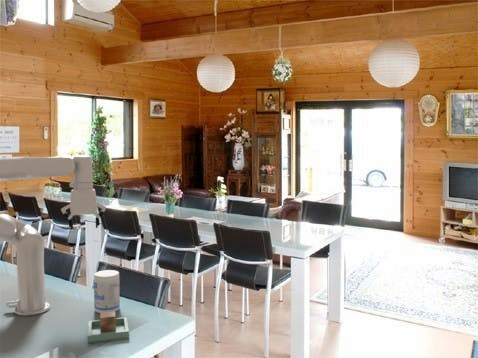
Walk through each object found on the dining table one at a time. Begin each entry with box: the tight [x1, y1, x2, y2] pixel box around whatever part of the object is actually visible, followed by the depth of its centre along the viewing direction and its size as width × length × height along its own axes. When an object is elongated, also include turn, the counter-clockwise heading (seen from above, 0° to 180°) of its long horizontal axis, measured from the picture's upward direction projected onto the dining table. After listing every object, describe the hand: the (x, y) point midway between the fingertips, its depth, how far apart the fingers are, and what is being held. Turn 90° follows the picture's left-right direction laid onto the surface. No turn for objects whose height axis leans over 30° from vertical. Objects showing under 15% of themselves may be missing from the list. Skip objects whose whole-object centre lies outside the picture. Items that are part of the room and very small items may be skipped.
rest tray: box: [87, 316, 130, 344], centre depth 162 cm, size 13×13×3 cm
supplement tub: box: [93, 269, 121, 314], centre depth 184 cm, size 10×10×15 cm
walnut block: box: [99, 311, 117, 333], centre depth 162 cm, size 5×5×6 cm
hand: (84, 228), depth 192 cm, fingers open, 9 cm apart
